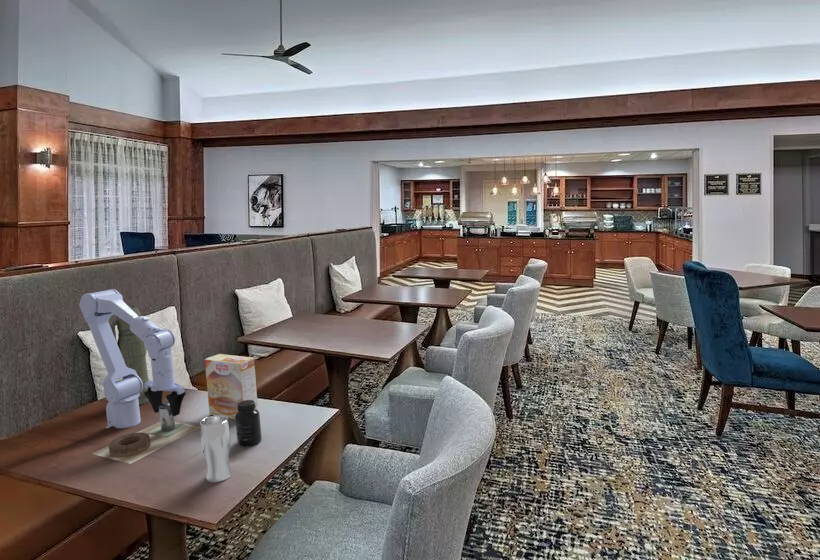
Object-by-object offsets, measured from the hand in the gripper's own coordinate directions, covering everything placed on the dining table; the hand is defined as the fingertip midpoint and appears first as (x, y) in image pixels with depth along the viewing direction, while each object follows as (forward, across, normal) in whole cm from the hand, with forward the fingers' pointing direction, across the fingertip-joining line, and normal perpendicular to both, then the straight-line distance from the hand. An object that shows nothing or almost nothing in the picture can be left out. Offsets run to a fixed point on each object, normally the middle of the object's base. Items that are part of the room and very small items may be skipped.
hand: (167, 413), depth 152 cm
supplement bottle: (+6, +28, +4) cm, 29 cm away
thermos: (+7, -33, +15) cm, 37 cm away
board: (+6, 0, -7) cm, 9 cm away
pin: (+5, 0, 0) cm, 5 cm away
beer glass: (+6, +34, -14) cm, 37 cm away
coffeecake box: (+7, +9, +18) cm, 21 cm away
